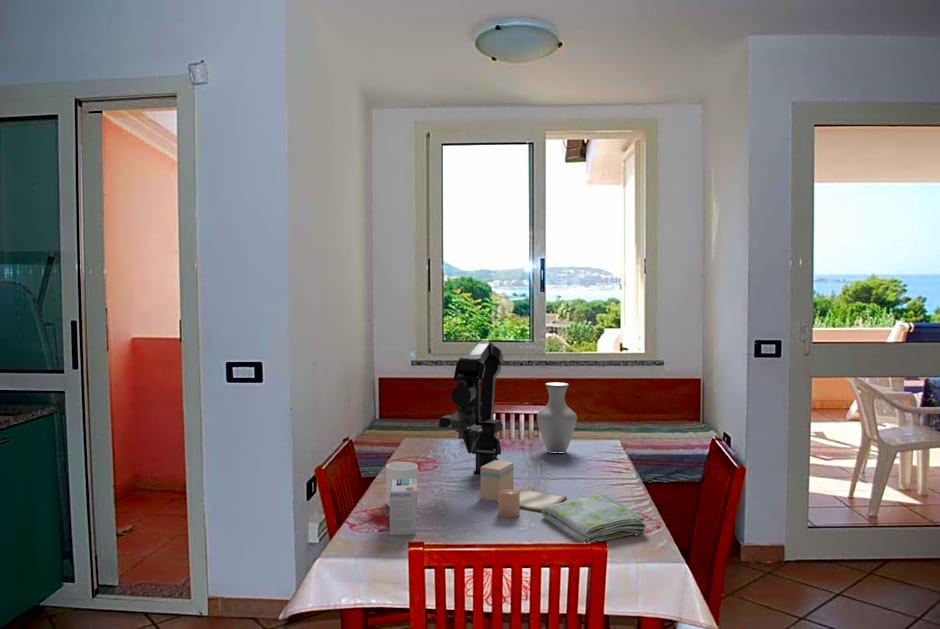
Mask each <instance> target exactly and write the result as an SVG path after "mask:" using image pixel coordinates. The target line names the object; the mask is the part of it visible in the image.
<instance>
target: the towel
mask: <svg viewBox="0 0 940 629" xmlns="http://www.w3.org/2000/svg"><path fill="white" fill-rule="evenodd" d="M541 515H542V517H543V519H544V520H545V521H546V520H547V521H548V522H550V523H551V524H552V525H554V526H555V527H557V529H559V530H561V531H563V533H566V534H567V535H569V536H570V537H571V538H573V539H574V540H576V541H578V542H580V543H582V542H591V541H599V542H602V541H607V540H608V541H609V540H613V539H618V538H622V537H626V536H634V535H633V534H639V533H644V532H645V531H646V523H644V521H645V517H643V516H642V515H641V514H638V513H636V512H635V511H633V510H631V509H629V508H627V507H626V506H625V505H624V504H622V503H621V502H618V501H617V500H615V499H614V498H612V497H610V496H608V495H606V494H603V493H601V494H596V495H594V494H593V495H590V496H586V497H582V498H577V499H573V500H565V501H563V502H562V503H557V504H553V505H549V506H546V507H544V508H543V509H542V512H541ZM639 535H640V534H639Z"/></svg>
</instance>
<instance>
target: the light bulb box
mask: <svg viewBox="0 0 940 629" xmlns="http://www.w3.org/2000/svg"><path fill="white" fill-rule="evenodd" d="M417 518H418V501H417V480H416V479H400V480H391V489H390V507H389V535H390V536H397V535H400V536H402V535H403V536H405V535H417V526H418V525H417V524H418V522H417V520H418V519H417Z"/></svg>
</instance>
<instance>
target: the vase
mask: <svg viewBox="0 0 940 629" xmlns="http://www.w3.org/2000/svg"><path fill="white" fill-rule="evenodd" d="M545 386H546V389H547V392H548V397H549V398H548V402H547V404H546V405H545V406H544V407H543V408H542V409H541V410H539V411H538V412H537V414H536V422H537V425H538V428H539V432H540V436H541V439H542V441H543V444H544V446H545V449H546V451H547V452H548V451H550V452H557V453H558V452H565V451H566V452H567V450H568V448H569V445H570V443H571V441H572V438H573V434H574V431H575V427H576V425H577V420H578V416H577V413H576V412H575V411H573V409H571V408H570V407H569V406H568V405H567V402H566V398H565V396H566V392H567V389H568V387H569V383H566V382H556V381H555V382H547V383H545Z"/></svg>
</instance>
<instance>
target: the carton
mask: <svg viewBox="0 0 940 629" xmlns="http://www.w3.org/2000/svg"><path fill="white" fill-rule="evenodd" d="M514 468H515V467H514V462H513V461H512V462H511V461H505V460H499V459H498V460H494V461H492V462H490V463H488V464H486V465H484V466H482V467H481V471H480V474H479V475H480V499H483V500H487V501H492V500H493V501H492V502H498V492H499V491H500V490H504V489H513V490H514Z"/></svg>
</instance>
